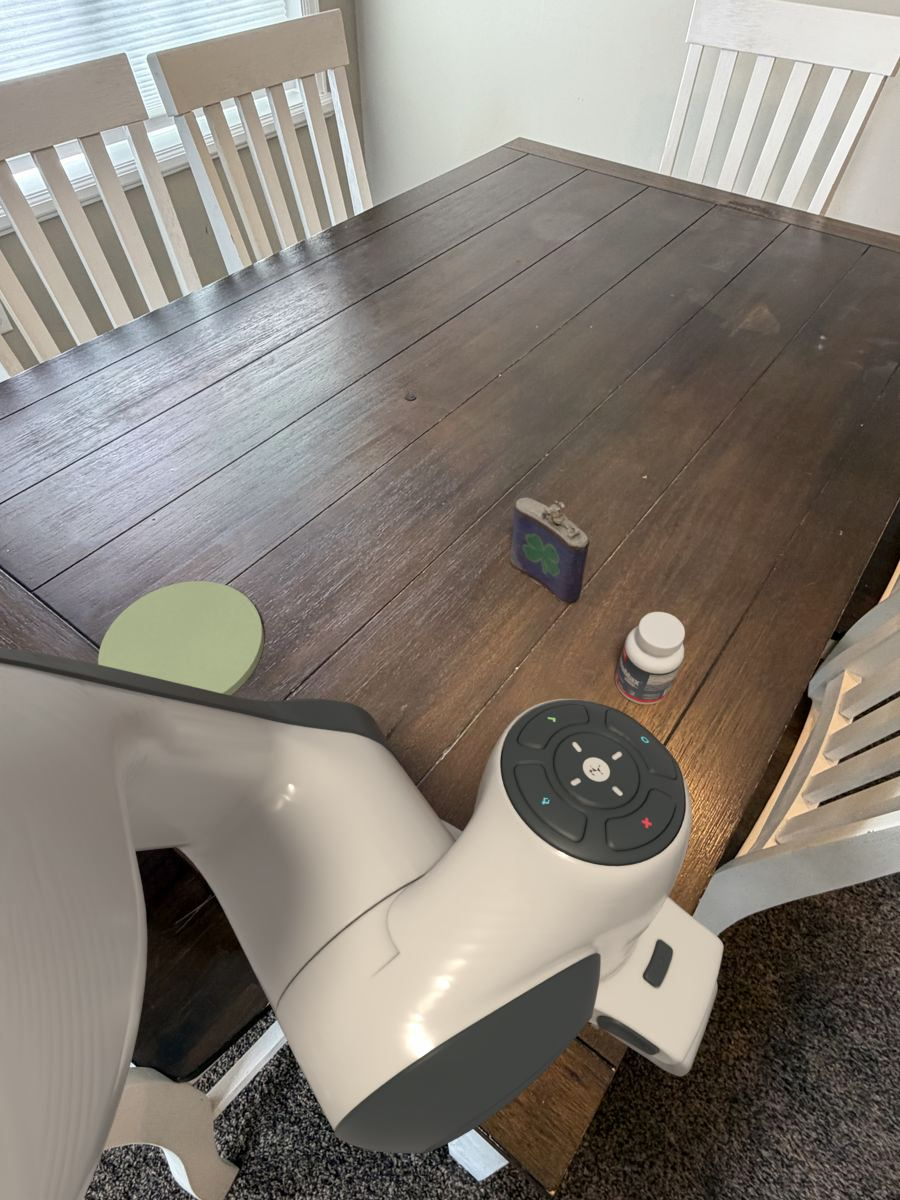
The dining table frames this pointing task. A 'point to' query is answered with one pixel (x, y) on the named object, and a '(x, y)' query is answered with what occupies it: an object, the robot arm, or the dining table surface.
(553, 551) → the flask
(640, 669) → the pill bottle
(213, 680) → the plate
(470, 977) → the robot arm
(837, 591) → the dining table surface
